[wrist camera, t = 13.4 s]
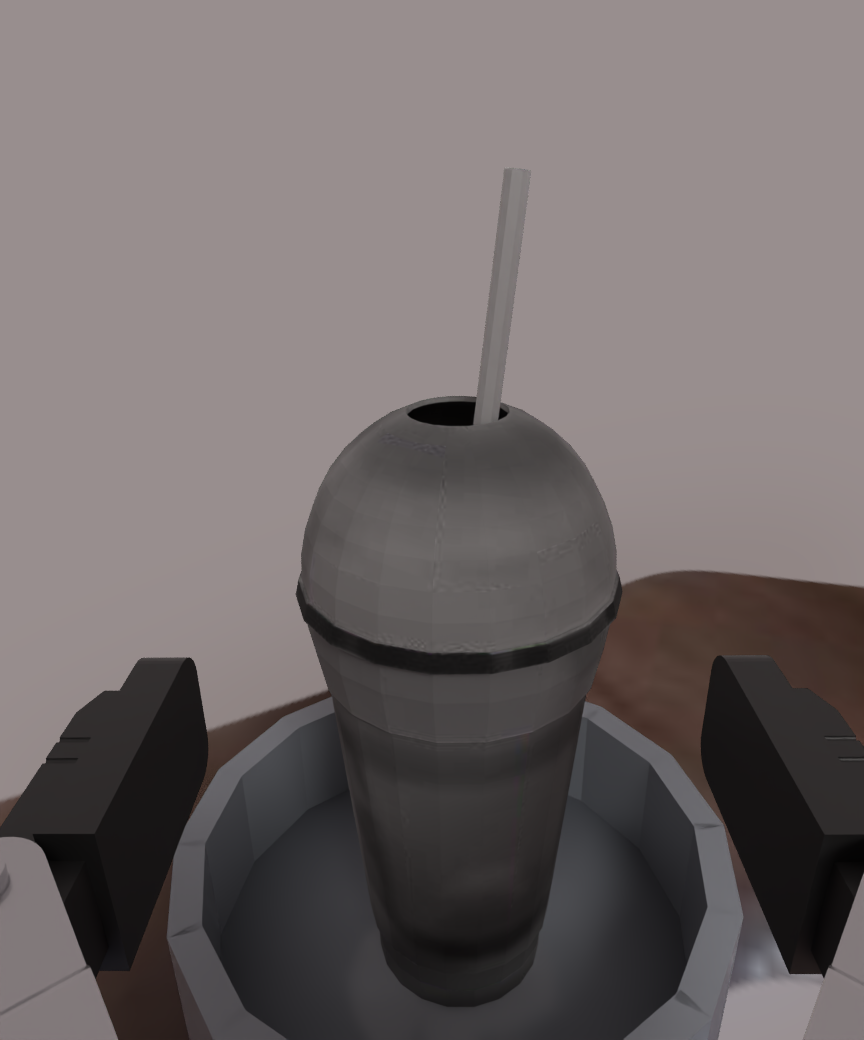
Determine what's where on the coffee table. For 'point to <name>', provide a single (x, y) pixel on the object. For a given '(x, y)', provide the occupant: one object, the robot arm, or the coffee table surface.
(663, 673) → the coffee table surface
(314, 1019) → the bowl
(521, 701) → the beverage cup
